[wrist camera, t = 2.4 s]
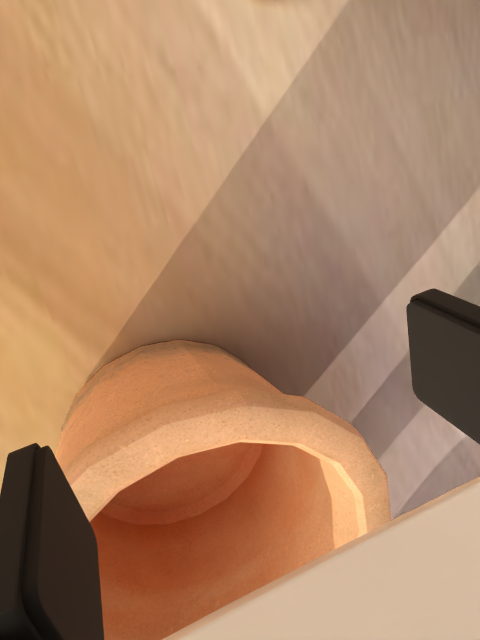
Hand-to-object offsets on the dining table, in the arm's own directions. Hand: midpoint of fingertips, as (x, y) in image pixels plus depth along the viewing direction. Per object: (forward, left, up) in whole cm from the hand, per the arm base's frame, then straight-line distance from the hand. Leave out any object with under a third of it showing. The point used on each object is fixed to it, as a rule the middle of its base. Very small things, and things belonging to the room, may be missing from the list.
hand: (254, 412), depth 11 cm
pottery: (+16, 0, -23) cm, 28 cm away
